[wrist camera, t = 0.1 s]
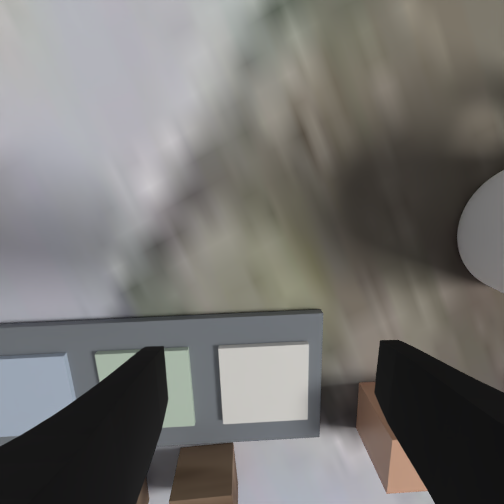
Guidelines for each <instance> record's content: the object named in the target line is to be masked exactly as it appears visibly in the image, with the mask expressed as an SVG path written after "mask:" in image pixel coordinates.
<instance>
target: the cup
mask: <svg viewBox="0 0 504 504" xmlns="http://www.w3.org/2000/svg"><path fill="white" fill-rule="evenodd" d="M457 244H458V249H459V253H460V256H461V259H462V261H463V263H464V265H465V266H466V268H467V269H468V270H469V272H470V273H471V274H472V275H473V276H474V277H475V278H477V279H478V280H479V281H481V282H482V283H484V284H486V285H487V286H489V287H491V288H493V289H496V290H498V291H500V292H502V293H504V170H503V171H501V172H499V173H497V174H496V175H494V176H493V177H491V178H490V179H488V180H487V181H486V182H485V183H484V184H483V185H482V186H481V187H480V188H479V189H478V190H477V191H476V192H475V193H474V194H473V195H472V197H471V198H470V199H469V201H468V203H467V204H466V206H465V208H464V210H463V212H462V215H461V217H460V221H459V225H458V231H457Z"/></svg>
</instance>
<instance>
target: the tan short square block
mask: <svg viewBox="0 0 504 504" xmlns="http://www.w3.org/2000/svg"><path fill="white" fill-rule="evenodd" d="M374 391H375V382H362V383H359V391H358V406H357V422H356V428H357V431H358V433H359V435H360V437H361V439H362V441H363V444H364V446H365V448H366V450H367V452H368V454H369V456H370V459H371V461H372V463H373V465H374V467H375V469H376V472H377V474H378V476H379V478H380V480H381V482H382V484H383V487H384V489H385V491H386V493H387V494H390V493H404V492H419V491H428V490H427V489H426V487H425V485H424V484H423V482H422V480H421V479H420V477H419V475H418V474H417V472H416V470H415V469H414V467H413V465H412V464H411V462H410V460H409V459H408V457H407V455H406V454H405V452H404V450H403V449H402V447H401V445H400V443H399V442H398V440H397V438H396V437H395V435H394V433H393V432H392V430H391V428H390V426H389V425H388V423H387V421H386V419H385V416H384V414H383V412H382V410H381V408H380V405H379V403H378V400H377V398H376V396H375V393H374Z"/></svg>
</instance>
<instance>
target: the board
mask: <svg viewBox="0 0 504 504" xmlns="http://www.w3.org/2000/svg"><path fill="white" fill-rule="evenodd" d="M322 335H323V312H322V311H321V309H318V310H296V311H274V312H252V313H230V314H208V315H186V316H164V317H142V318H120V319H98V320H76V321H54V322H32V323H10V324H0V446H2V445H4V444H5V443H7V442H9V441H11V440H13V439H15V438H16V437H18V436H20V435H22V434H23V433H25V432H27V431H28V430H30V429H32V428H33V427H35V426H37V425H38V424H40V423H41V422H43V421H45V420H46V419H48V418H49V417H51V416H53V415H54V414H56V413H57V412H59V411H60V410H62V409H63V408H65V407H66V406H68V405H69V404H70V403H72V402H73V401H75V400H76V399H77V398H79V397H80V396H81V395H83V394H84V393H86V392H87V391H88V390H90V389H91V388H92V387H94V386H95V385H97V384H98V383H99V382H101V381H102V380H103V379H104V378H106V377H107V376H108V375H109V374H111V373H112V372H113V371H115V370H116V369H117V368H118V367H120V366H121V365H122V364H123V363H125V362H126V361H127V360H128V359H129V358H131V357H132V356H133V355H134V354H136V353H137V352H138V351H140V350H141V349H142V348H144V347H145V346H164V353H165V365H166V376H167V388H168V404H167V409H166V413H165V418H164V422H163V427H162V431H161V434H160V437H159V440H158V443H157V446H174V445H191V444H208V443H225V442H242V441H260V440H277V439H294V438H311V437H319V434H320V401H321V368H322ZM157 446H156V447H157Z"/></svg>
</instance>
